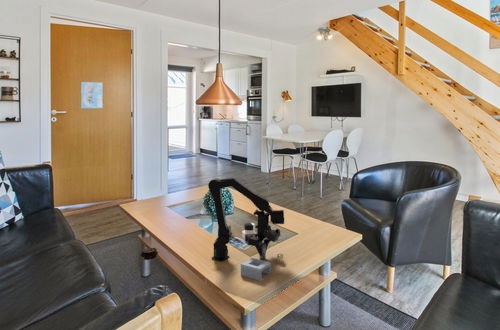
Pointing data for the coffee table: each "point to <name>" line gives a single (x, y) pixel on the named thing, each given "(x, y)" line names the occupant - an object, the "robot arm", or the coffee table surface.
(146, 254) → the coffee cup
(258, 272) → the frame
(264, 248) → the long pin
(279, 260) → the short pin
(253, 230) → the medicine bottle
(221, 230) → the robot arm
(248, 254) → the coffee table surface
